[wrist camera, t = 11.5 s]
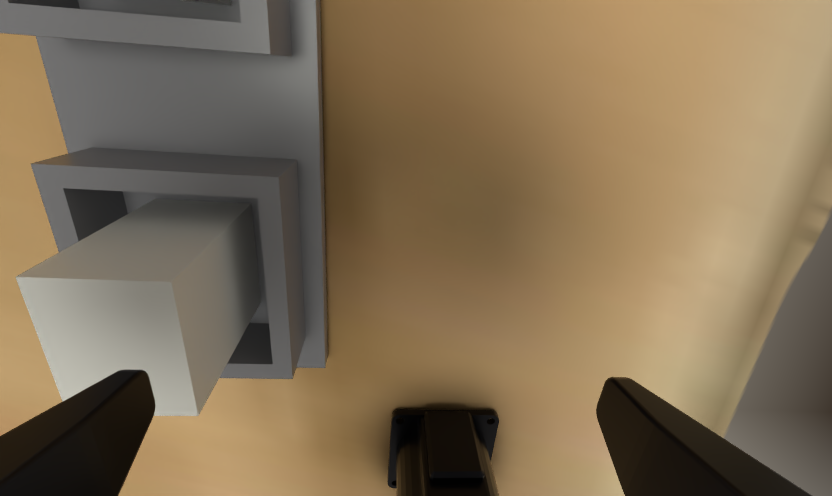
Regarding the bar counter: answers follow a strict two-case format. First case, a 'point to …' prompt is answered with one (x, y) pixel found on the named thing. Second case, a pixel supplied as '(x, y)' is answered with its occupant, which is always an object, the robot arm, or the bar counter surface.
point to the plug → (214, 1)
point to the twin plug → (149, 300)
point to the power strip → (196, 138)
